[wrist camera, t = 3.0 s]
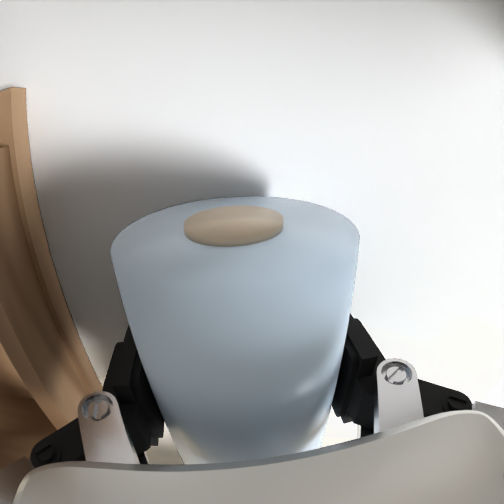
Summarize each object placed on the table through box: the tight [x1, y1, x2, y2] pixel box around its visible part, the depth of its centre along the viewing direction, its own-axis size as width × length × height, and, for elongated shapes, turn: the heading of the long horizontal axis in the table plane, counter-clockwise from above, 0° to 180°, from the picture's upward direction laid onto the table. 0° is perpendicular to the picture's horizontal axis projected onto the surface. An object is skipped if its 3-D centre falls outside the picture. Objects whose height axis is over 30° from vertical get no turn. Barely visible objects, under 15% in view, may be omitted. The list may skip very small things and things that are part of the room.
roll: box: [111, 196, 360, 464], centre depth 10 cm, size 10×6×6 cm, turn 2°
